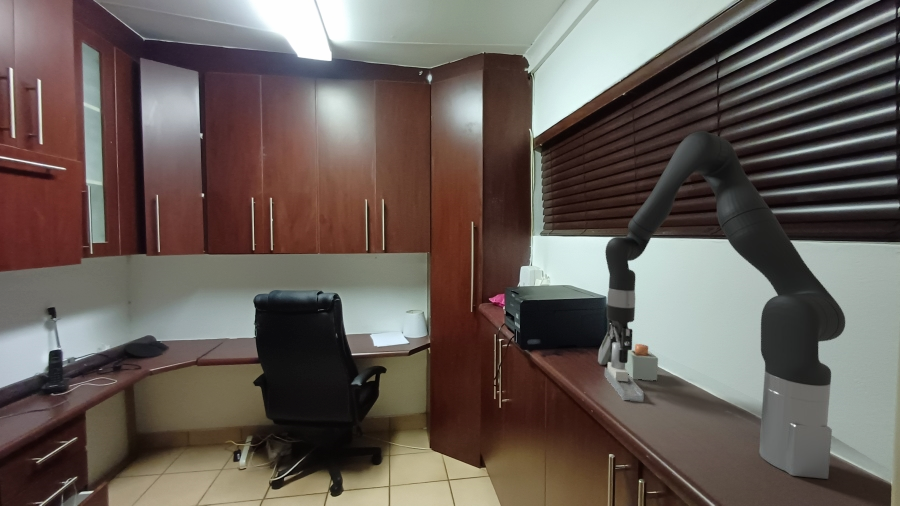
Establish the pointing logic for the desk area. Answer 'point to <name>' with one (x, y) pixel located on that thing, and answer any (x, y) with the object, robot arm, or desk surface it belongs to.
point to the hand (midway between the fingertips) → (618, 357)
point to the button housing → (642, 366)
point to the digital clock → (605, 352)
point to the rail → (625, 388)
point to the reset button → (641, 350)
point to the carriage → (617, 365)
